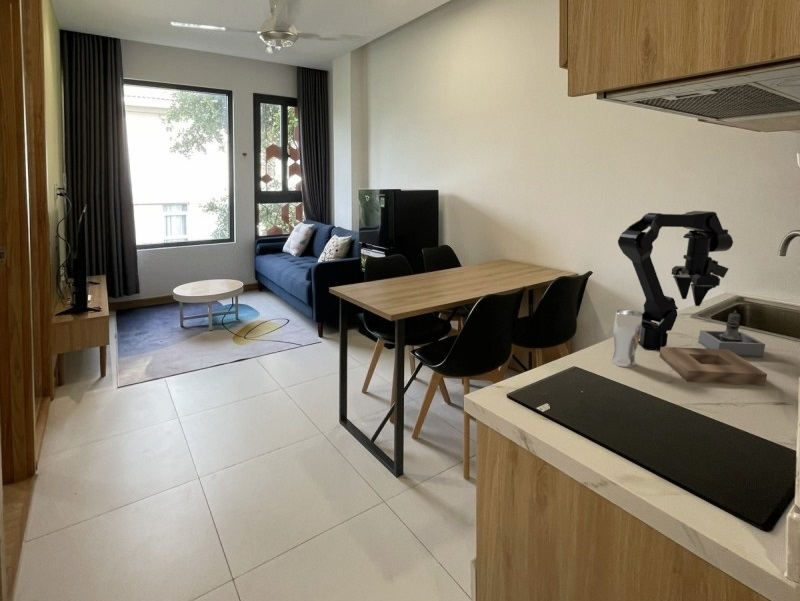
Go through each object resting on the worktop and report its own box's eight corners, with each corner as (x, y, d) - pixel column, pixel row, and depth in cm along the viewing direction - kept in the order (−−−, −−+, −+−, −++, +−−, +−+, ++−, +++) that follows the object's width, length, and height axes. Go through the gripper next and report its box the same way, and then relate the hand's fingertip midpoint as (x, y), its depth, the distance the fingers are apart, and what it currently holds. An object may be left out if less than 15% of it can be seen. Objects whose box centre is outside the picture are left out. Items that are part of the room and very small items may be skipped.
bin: (717, 355, 134) (719, 342, 133) (698, 342, 146) (700, 330, 145) (762, 357, 132) (765, 344, 131) (739, 343, 144) (741, 331, 143)
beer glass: (631, 370, 124) (637, 317, 121) (605, 363, 129) (611, 312, 126) (641, 363, 129) (647, 312, 125) (615, 357, 134) (621, 307, 130)
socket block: (686, 381, 117) (688, 370, 116) (659, 356, 134) (660, 346, 133) (765, 385, 114) (767, 374, 113) (726, 359, 131) (728, 349, 130)
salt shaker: (730, 351, 135) (736, 313, 133) (712, 345, 141) (718, 308, 138) (746, 350, 137) (752, 311, 134) (728, 343, 142) (734, 306, 139)
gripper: (744, 257, 129) (735, 310, 133) (711, 249, 147) (704, 296, 151) (701, 257, 131) (693, 309, 135) (673, 248, 149) (667, 295, 153)
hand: (690, 302), depth 143 cm, fingers open, 9 cm apart
